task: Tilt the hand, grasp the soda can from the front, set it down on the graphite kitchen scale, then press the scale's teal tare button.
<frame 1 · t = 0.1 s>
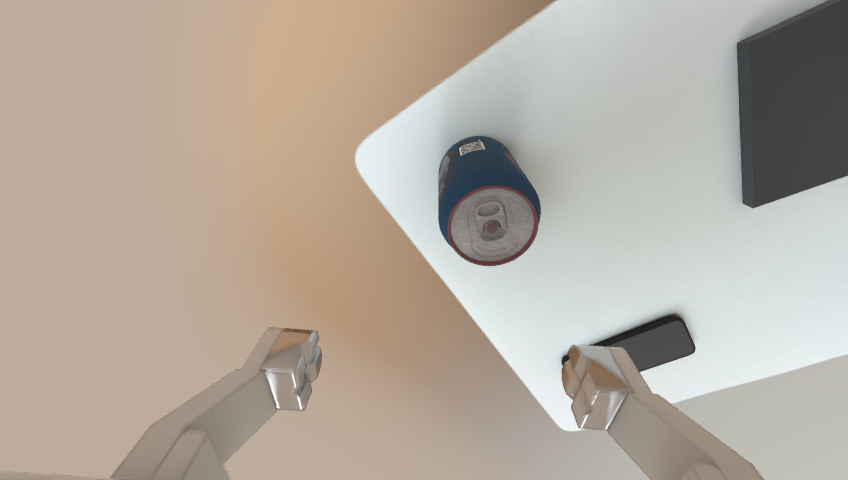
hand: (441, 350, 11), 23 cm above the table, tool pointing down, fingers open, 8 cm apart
smartphone: (623, 351, 42), on the table
soda can: (474, 169, 31), on the table
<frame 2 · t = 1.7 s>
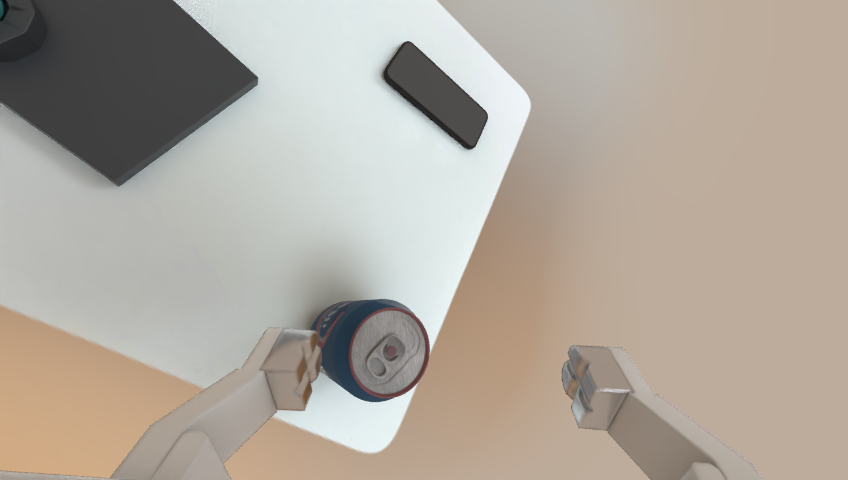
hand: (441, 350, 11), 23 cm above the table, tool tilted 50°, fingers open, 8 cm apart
scale: (108, 58, 27), on the table
smartphone: (437, 100, 43), on the table
soda can: (342, 337, 32), on the table
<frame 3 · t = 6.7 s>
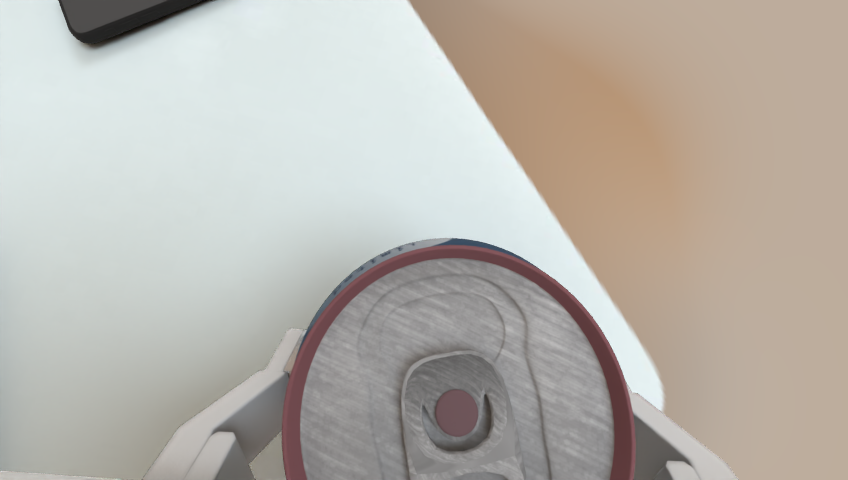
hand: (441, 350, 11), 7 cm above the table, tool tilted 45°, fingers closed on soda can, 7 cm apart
soda can: (436, 354, 17), on the table, touching gripper
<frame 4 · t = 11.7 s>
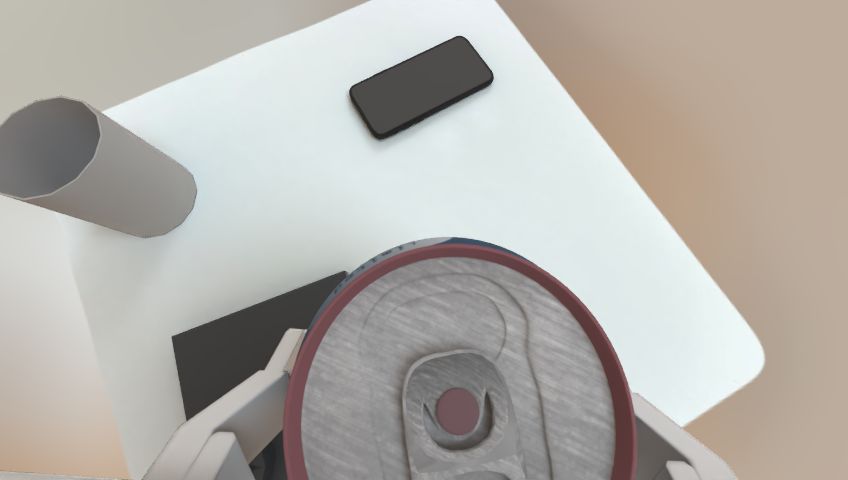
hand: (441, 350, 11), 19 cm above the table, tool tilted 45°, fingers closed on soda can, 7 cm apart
scale: (287, 384, 28), on the table
smartphone: (422, 89, 36), on the table
cup: (156, 198, 33), on the table
soda can: (436, 353, 17), point 13 cm above the table, touching gripper
when the fingers open (8 cm above the table, at t = 17.0 s): soda can stays where it is, resting on scale.
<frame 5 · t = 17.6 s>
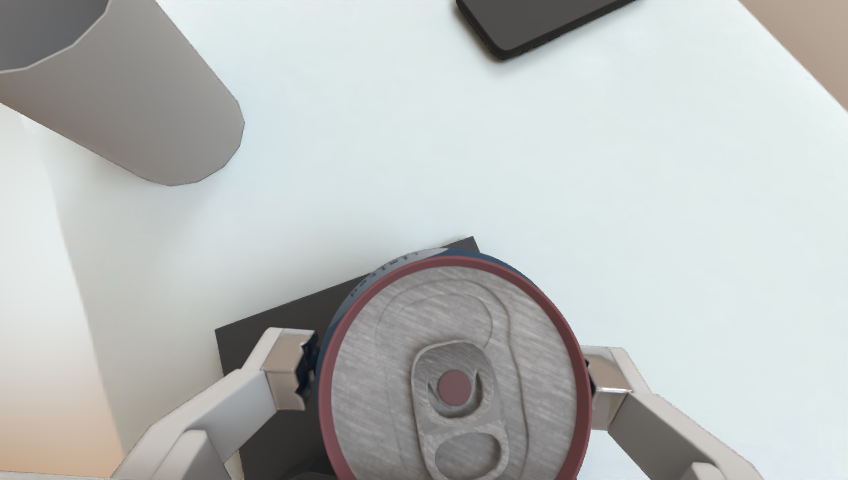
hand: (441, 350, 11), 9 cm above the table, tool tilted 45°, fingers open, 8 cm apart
scale: (391, 405, 19), on the table
smartphone: (550, 0, 27), on the table
cup: (186, 133, 23), on the table
soda can: (433, 349, 19), point 1 cm above the table, touching scale
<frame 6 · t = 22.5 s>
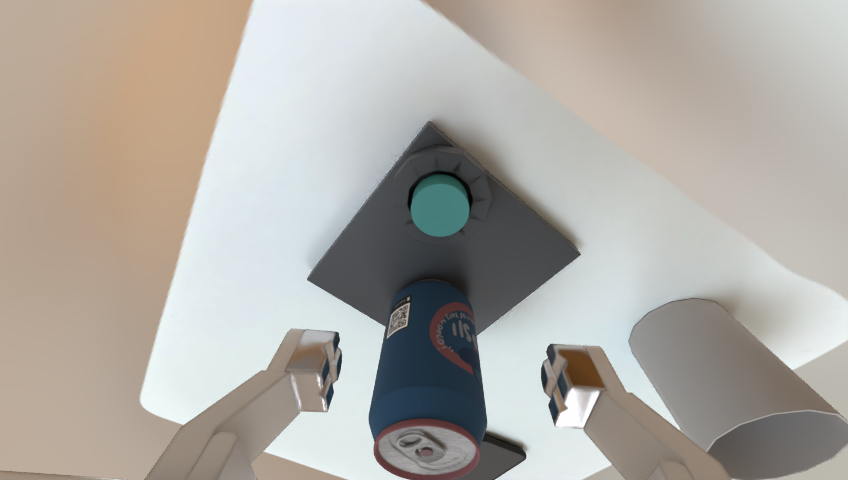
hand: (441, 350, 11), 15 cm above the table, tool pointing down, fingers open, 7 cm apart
scale: (437, 259, 27), on the table
smartphone: (469, 464, 43), on the table
cup: (676, 332, 30), on the table
soda can: (431, 303, 28), point 1 cm above the table, touching scale
tare button: (439, 205, 21), point 3 cm above the table, slide at 0.1 cm
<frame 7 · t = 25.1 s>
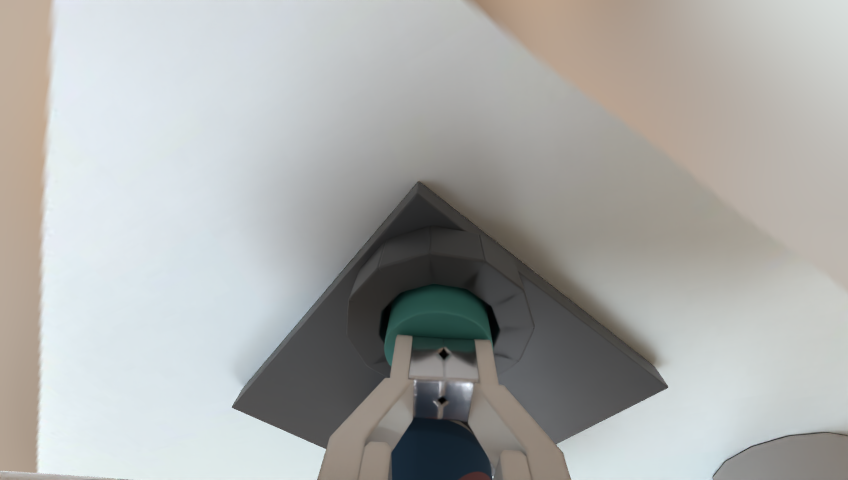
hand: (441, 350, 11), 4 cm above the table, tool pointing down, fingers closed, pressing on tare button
scale: (435, 377, 17), on the table
cup: (785, 467, 20), on the table
soda can: (425, 438, 18), point 1 cm above the table, touching scale
tare button: (438, 333, 11), point 3 cm above the table, slide at -0.3 cm, touching gripper
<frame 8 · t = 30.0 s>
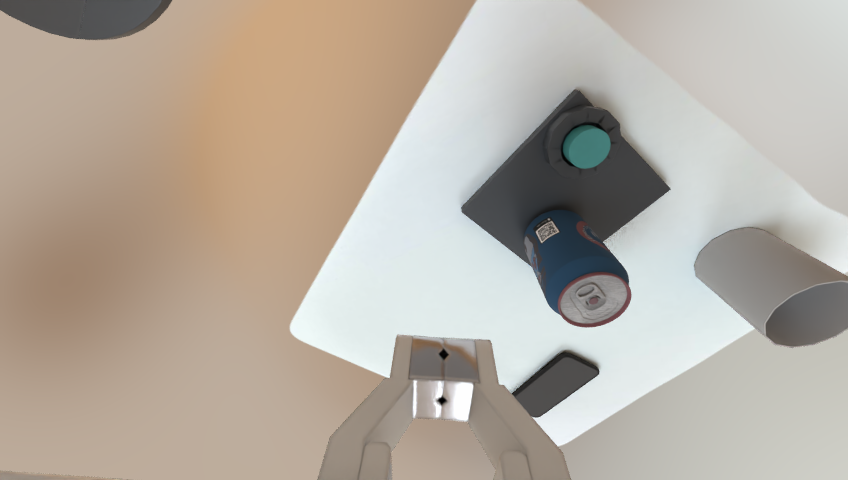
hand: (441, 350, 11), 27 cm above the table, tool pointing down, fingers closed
scale: (559, 196, 36), on the table
smartphone: (548, 383, 52), on the table
cup: (731, 257, 39), on the table
soda can: (551, 231, 37), point 1 cm above the table, touching scale
tare button: (585, 146, 30), point 3 cm above the table, slide at 0.1 cm
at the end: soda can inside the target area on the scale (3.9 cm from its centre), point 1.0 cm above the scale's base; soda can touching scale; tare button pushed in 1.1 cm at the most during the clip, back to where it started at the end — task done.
